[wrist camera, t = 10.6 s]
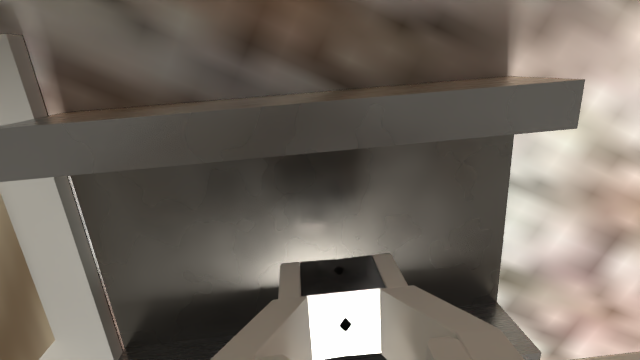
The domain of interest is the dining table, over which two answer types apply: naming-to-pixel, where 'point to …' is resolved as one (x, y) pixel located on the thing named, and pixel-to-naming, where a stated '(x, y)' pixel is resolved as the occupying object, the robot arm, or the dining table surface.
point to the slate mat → (53, 232)
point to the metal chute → (290, 196)
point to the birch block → (19, 301)
